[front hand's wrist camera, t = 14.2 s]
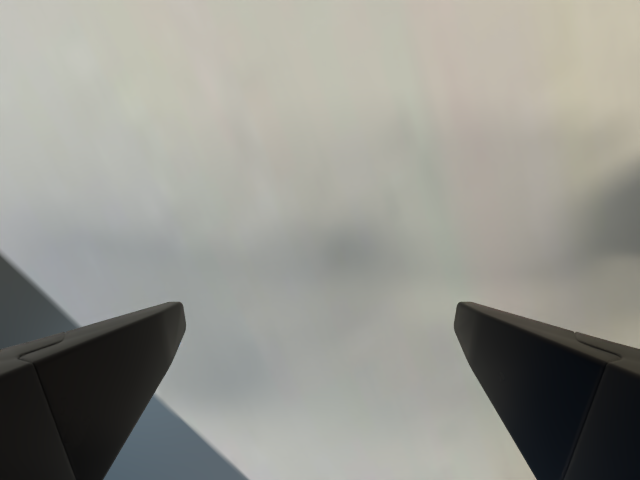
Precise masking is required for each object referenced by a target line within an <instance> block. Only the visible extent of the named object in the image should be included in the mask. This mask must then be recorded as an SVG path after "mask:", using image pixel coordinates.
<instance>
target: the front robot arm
mask: <svg viewBox="0 0 640 480" xmlns="http://www.w3.org/2000/svg"><path fill="white" fill-rule="evenodd" d="M185 330H186V321H185V315H184V308H183V305H182V303H181V302H167V303H163V304H160V305H157V306H153V307H150V308H146V309H143V310H139V311H136V312H132V313H129V314H125V315H122V316H118V317H115V318H112V319H108V320H105V321H101V322H98V323H94V324H91V325H87V326H84V327H80V328H77V329H74V330H70V331H67V332H66V333H65V332H61V333H58V334H54V335H51V336H47V337H44V338H40V339H37V340H33V341H29V342H26V343H22V344H18V345H14V346H11V347H7V348H3V349H0V480H103V479H104V477H105V476H106V474H107V472H108V471H109V469H110V467H111V465H112V464H113V462H114V460H115V459H116V457H117V455H118V454H119V452H120V450H121V448H122V447H123V445H124V443H125V442H126V440H127V438H128V437H129V435H130V433H131V432H132V430H133V428H134V426H135V425H136V423H137V421H138V420H139V418H140V416H141V415H142V413H143V411H144V410H145V408H146V406H147V404H148V403H149V401H150V399H151V398H152V396H153V394H154V393H155V391H156V389H157V387H158V386H159V384H160V382H161V381H162V379H163V377H164V376H165V374H166V372H167V371H168V369H169V367H170V365H171V363H172V361H173V359H174V356H175V354H176V352H177V349H178V347H179V345H180V342H181V340H182V338H183V335H184V333H185ZM454 330H455V333H456V335H457V338H458V340H459V342H460V345H461V347H462V349H463V352H464V354H465V356H466V359H467V361H468V363H469V365H470V367H471V369H472V371H473V372H474V374H475V376H476V377H477V379H478V381H479V382H480V384H481V386H482V387H483V389H484V391H485V393H486V394H487V396H488V398H489V399H490V401H491V403H492V404H493V406H494V408H495V410H496V411H497V413H498V415H499V416H500V418H501V420H502V421H503V423H504V425H505V426H506V428H507V430H508V432H509V433H510V435H511V437H512V438H513V440H514V442H515V443H516V445H517V447H518V448H519V450H520V452H521V454H522V455H523V457H524V459H525V460H526V462H527V464H528V465H529V467H530V469H531V471H532V472H533V474H534V476H535V477H536V479H537V480H640V349H637V348H633V347H629V346H626V345H622V344H618V343H614V342H611V341H607V340H603V339H600V338H596V337H593V336H589V335H586V334H582V333H579V332H575V333H574V332H573V331H570V330H567V329H563V328H560V327H556V326H553V325H549V324H546V323H542V322H539V321H535V320H532V319H528V318H525V317H522V316H518V315H515V314H511V313H508V312H504V311H501V310H497V309H494V308H490V307H487V306H483V305H480V304H477V303H473V302H459V303H458V305H457V308H456V315H455V321H454Z"/></svg>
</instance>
